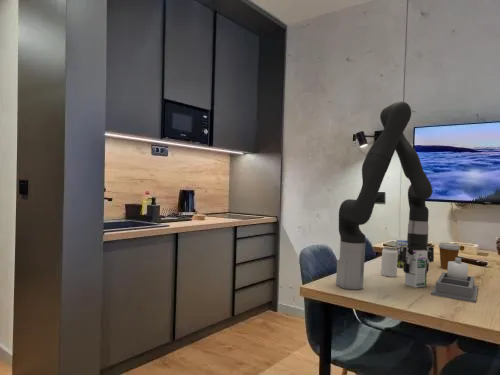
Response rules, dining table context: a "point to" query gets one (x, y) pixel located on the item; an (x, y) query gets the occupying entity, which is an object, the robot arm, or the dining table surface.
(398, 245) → the medicine box
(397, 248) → the passion flower
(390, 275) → the can
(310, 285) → the dining table surface
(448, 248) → the disposable coffee cup
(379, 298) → the dining table surface
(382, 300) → the dining table surface
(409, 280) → the syrup box
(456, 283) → the housing
